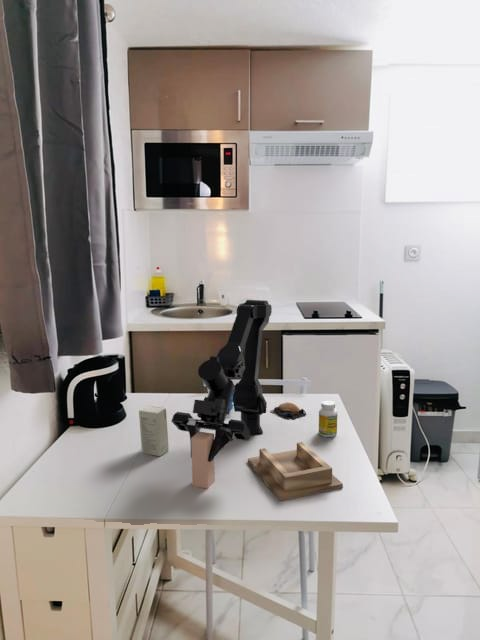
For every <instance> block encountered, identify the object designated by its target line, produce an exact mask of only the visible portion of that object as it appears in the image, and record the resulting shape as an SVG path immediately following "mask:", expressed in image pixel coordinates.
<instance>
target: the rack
mask: <svg viewBox="0 0 480 640" xmlns="http://www.w3.org/2000/svg"><path fill="white" fill-rule="evenodd" d="M258 451H259V455H258V456H253V457H248V458H247V462H248V465H250V466H251V467H252V469H253V470H254V471H255V472H256V474H258V476H259V477H260V478H261V480H262V481H263V482H264V483H265V485H267V487H268V488H269V489H270V490H271V492H272V493H273V494H274V495H275V497H276V498H277V499H278V500H279V501H280V502H281V501H286V500H291V499H295V498H300V497H305V496H309V495H315V494H320V493H324V492H328V491H333V490H338V489H343V487H344V483H343V482H342V481H340V480H339V479H338V478H337V477H336V476H335V475H334V474H333V467H332V466H330V464H328V463H327V462H326V461H324V459H322V458H321V457H320V456H319V455H318V454H317V453H315V451H313V450H312V449H311V448H310V447H309V446H307V444H305V443H304V442H303V441H298V442H296V449H293V450H287V451H282V452H281V451H280V452H276V453H270V452H269V451H268V450H267V449H266V448H259V449H258Z"/></svg>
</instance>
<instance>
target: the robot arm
mask: <svg viewBox="0 0 480 640" xmlns="http://www.w3.org/2000/svg"><path fill="white" fill-rule="evenodd" d="M272 308H273V307H272V304H270V303H269V301H268V300H260V299H259V300H258V299H247V300H246V301H245V302H243V303H240V304H239V303H238V306H237V307H236V316H235V319H234V322H233V324H232V327H231V331H230V333H229V336H228V338H227V342H226V344H225V345H224V346H223V347H221V348H220V349H218V352H217V354H216V355H215V356H214V355H210V357H209V359H207V360H205V361H204V362H202V363H201V365H200V366H198V370H197V373H198V376H199V378H200V379H201V380H202V382H203V384H204V386H205V387H206V388H207V389H208V390H209V392H208V394H207V396H204V398H203V400H202V399H194V402H193V409H192V413H193V414H197V417H198V418H200V419H197V418H194V417H193V416H192V414H190V412H189V413H188V412H181V411H177V412H175V413H174V414H173V415H172V418H171V422H172V424H173V425H174V426H175V427H176V428H177V430H179V431H182V432H188V433H189V441H190V444H191V438H192V437H193V436H194V435H195V434H196V433H197V432H201V429H205V430H212V431H215V433H214V441H213V444H212V447H211V450H210V453H209V457H208V461H209V462H211V461H212V460H213V459H214V460H215V457H216V456H217V455H218V454H219V452H221V450H222V449H224V447H225V446H226V445H228V443H231V442H232V443H233V441H234V438H233V437H235V438H236V440H241V441H249V439H250V435H257V434H259V435H261V434H264V432H263V429H262V427H261V416H262V415H263V414H266V413H267V407H268V406H267V401H266V399H265V397H264V395H263V387H262V385H261V383H260V381H259V369H260V362H261V361H260V360H261V359H260V358H261V350H262V349H261V348H262V341H263V340H262V339H263V331H264V329H265V328H266V327H267V325H268V324H269V323H270V317H271V315H272V312H273V311H272ZM243 353H244V355H243ZM240 377H241V378H240ZM231 378H233V379H238V378H240V380H239V381H238V382H236V383H234V382H233V380H232V379H231ZM233 392H234V394H233V403H232V404H233V405H234V406H233V410H234V412H239V413H240V420H239V419H232V418H231V419H230V420H228V423H226V422H225V421H226V417H227V414H229V413H230V412H229V410H230V409H229V408H228V407H229V403H230V400H231V396H232V393H233ZM190 458H191V459H192V450H191V449H190Z"/></svg>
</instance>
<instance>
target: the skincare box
mask: <svg viewBox="0 0 480 640" xmlns="http://www.w3.org/2000/svg"><path fill="white" fill-rule="evenodd" d="M138 416H139V429H140V442H141V453H142V454H146V455H153V456H157V457H158V456H159V457H161V456H163V455H164V454H166V453H167V452H168V451H169V450H170V449H169V434H168V419H167V418H168V417H167V408H165V407H161V406H153V405H146V406H145V407H142V408H141V409H139V410H138Z"/></svg>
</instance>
